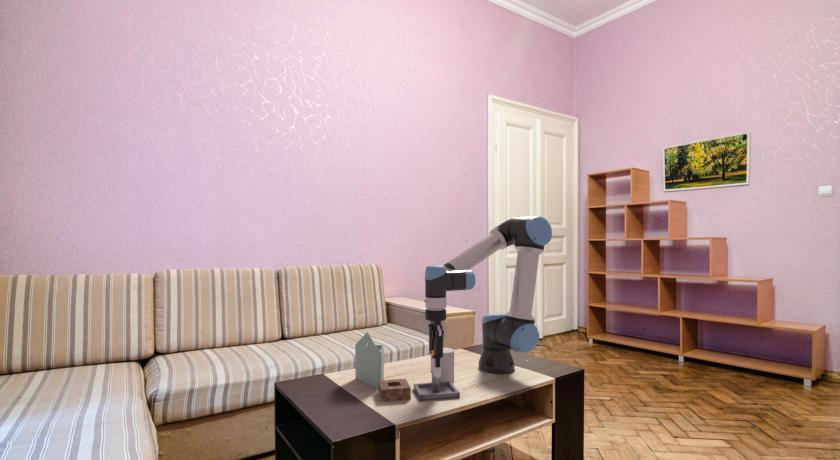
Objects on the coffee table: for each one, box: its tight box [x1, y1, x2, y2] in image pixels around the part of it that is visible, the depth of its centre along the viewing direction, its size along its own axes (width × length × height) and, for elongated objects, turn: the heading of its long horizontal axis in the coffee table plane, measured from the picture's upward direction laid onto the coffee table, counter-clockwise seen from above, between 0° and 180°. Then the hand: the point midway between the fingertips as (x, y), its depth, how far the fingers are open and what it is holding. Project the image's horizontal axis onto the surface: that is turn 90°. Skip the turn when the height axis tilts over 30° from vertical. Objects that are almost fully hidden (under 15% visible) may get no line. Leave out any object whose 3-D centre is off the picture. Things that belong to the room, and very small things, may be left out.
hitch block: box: [377, 378, 412, 403], centre depth 156 cm, size 10×10×4 cm
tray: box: [413, 381, 461, 402], centre depth 158 cm, size 14×12×2 cm
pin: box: [431, 350, 440, 391], centre depth 158 cm, size 3×3×14 cm
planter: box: [354, 331, 385, 390], centre depth 171 cm, size 16×8×20 cm, turn 41°
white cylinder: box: [440, 347, 455, 384], centre depth 171 cm, size 8×8×12 cm
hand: (435, 374), depth 158 cm, fingers closed on pin, 3 cm apart
